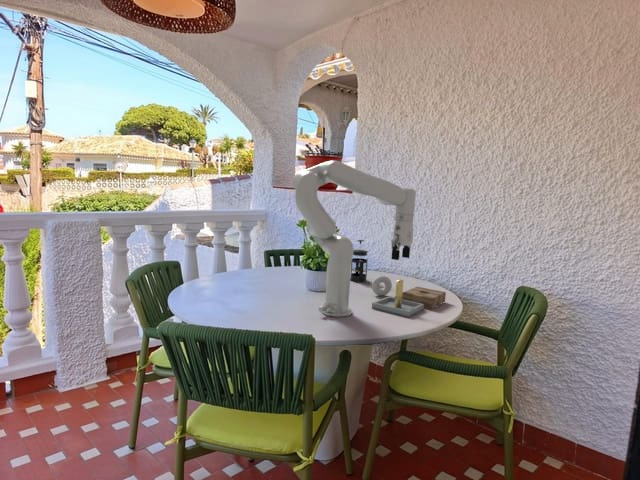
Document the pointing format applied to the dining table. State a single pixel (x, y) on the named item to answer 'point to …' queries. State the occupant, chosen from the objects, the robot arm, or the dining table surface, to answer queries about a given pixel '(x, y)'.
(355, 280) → the french press
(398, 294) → the pin
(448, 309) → the dining table surface
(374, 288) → the donut
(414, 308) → the tray
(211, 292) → the dining table surface
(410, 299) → the pin block
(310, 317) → the dining table surface
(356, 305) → the dining table surface
